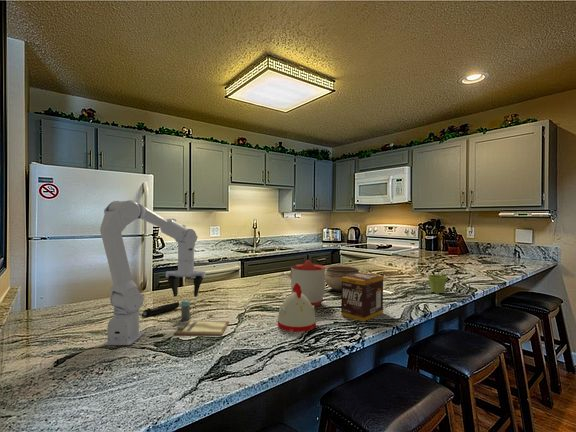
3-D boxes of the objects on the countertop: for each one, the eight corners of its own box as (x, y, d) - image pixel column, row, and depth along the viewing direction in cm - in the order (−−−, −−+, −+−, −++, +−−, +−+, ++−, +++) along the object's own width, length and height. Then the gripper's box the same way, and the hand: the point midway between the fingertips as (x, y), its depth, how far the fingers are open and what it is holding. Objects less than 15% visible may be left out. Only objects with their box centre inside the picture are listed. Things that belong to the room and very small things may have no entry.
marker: (188, 321, 116) (188, 302, 116) (180, 321, 116) (180, 302, 116) (190, 318, 119) (191, 300, 119) (182, 318, 119) (182, 300, 119)
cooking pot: (372, 294, 158) (372, 270, 158) (343, 298, 149) (343, 273, 149) (341, 284, 180) (341, 263, 180) (314, 287, 171) (314, 265, 171)
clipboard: (222, 335, 102) (222, 331, 102) (173, 335, 102) (173, 330, 102) (228, 322, 114) (228, 319, 114) (185, 322, 114) (185, 318, 114)
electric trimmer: (181, 309, 131) (181, 302, 131) (146, 318, 119) (146, 310, 119) (176, 308, 133) (176, 300, 133) (141, 316, 121) (141, 308, 121)
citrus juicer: (293, 297, 150) (294, 256, 150) (329, 301, 143) (329, 258, 143) (281, 306, 135) (281, 260, 135) (319, 311, 129) (320, 263, 129)
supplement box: (340, 315, 124) (340, 276, 124) (361, 307, 134) (361, 271, 134) (363, 322, 116) (363, 280, 116) (383, 313, 127) (383, 275, 127)
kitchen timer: (283, 333, 105) (283, 289, 105) (274, 320, 118) (274, 280, 118) (321, 329, 108) (321, 286, 108) (308, 317, 122) (308, 279, 122)
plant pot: (428, 294, 158) (428, 277, 158) (426, 290, 167) (426, 274, 167) (448, 295, 156) (449, 278, 156) (445, 291, 165) (445, 275, 165)
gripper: (207, 258, 121) (207, 293, 121) (170, 258, 121) (170, 293, 121) (202, 261, 114) (202, 298, 114) (163, 261, 114) (163, 298, 114)
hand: (185, 296), depth 117 cm, fingers open, 7 cm apart
